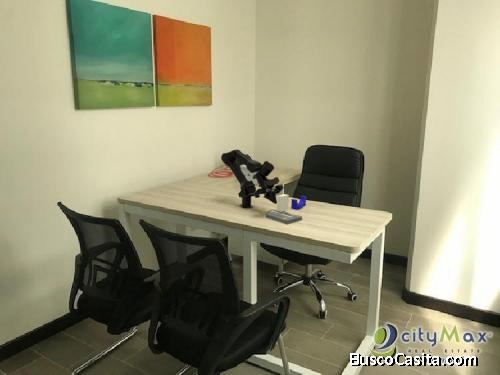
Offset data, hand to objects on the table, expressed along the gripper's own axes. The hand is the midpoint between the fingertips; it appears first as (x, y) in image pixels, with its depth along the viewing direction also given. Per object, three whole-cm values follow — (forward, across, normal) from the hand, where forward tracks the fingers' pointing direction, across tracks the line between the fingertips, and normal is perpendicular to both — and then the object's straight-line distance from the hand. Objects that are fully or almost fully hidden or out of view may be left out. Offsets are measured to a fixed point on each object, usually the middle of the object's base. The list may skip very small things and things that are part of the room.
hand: (276, 203), depth 222 cm
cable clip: (+3, +24, +8) cm, 26 cm away
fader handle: (+7, 0, 0) cm, 7 cm away
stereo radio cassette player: (-46, +47, +56) cm, 87 cm away
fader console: (+9, 0, +1) cm, 9 cm away
